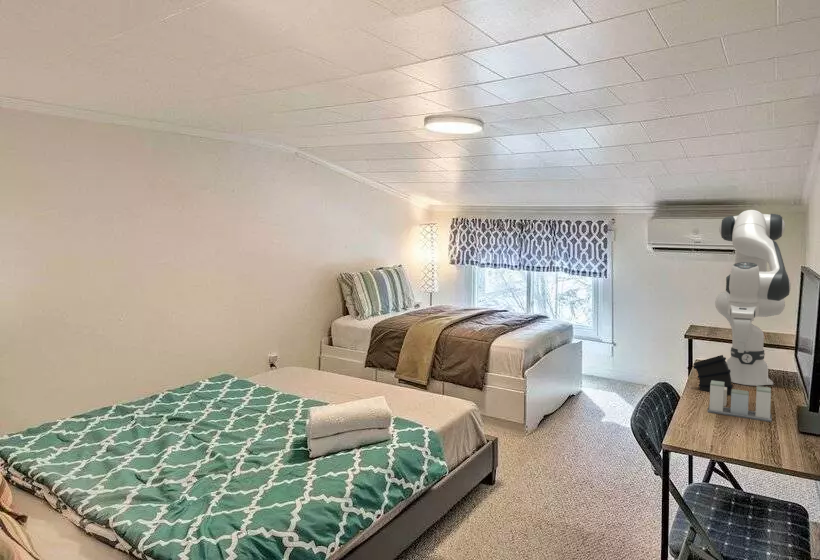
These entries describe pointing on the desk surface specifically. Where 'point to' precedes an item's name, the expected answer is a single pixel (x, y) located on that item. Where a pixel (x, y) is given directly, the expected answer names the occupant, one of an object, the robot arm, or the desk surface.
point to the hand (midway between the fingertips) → (741, 349)
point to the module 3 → (763, 402)
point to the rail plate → (750, 414)
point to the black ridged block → (713, 373)
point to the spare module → (725, 395)
